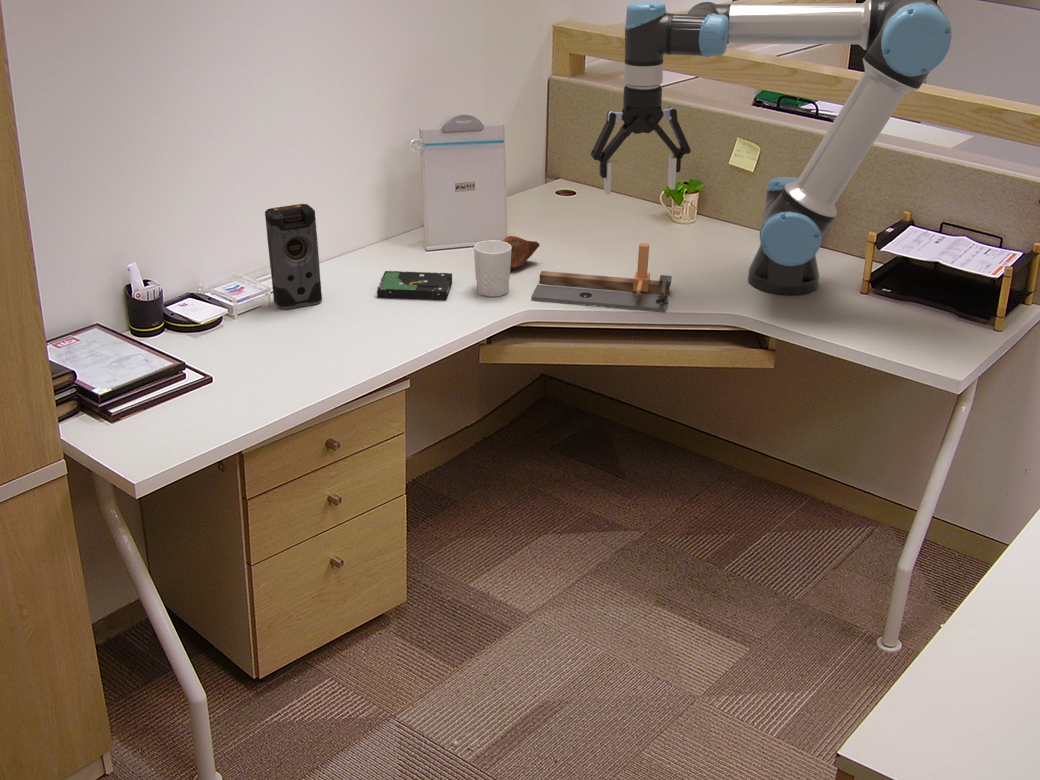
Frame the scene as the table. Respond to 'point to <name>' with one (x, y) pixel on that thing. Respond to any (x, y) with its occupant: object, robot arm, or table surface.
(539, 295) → the metal board
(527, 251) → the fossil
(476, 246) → the white cup
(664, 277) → the beam
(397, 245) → the table surface
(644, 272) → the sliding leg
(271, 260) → the electronic device
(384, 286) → the disk drive
